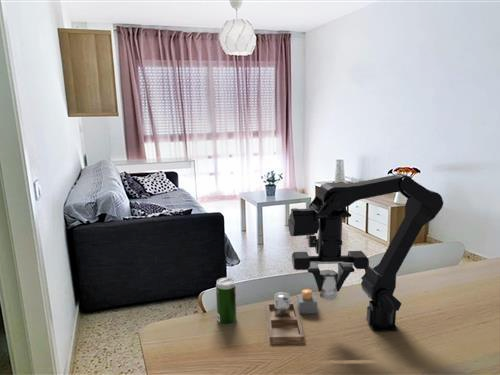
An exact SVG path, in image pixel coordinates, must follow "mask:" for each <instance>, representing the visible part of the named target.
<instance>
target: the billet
mask: <svg viewBox="0 0 500 375" xmlns="http://www.w3.org/2000/svg"><path fill="white" fill-rule="evenodd" d="M320 280H321V291H320V292H319V296H320V298H321V299H324V300H327V301H329V300H330V301H331V300H335V299H337V297H338V292H337V282H338V272H336V271H334V270H322V271H320Z"/></svg>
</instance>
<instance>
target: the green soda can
mask: <svg viewBox="0 0 500 375" xmlns="http://www.w3.org/2000/svg"><path fill="white" fill-rule="evenodd" d="M236 284H237V283H236V282H235V279H233V277H221V278H218V279H217V280H216V284H215V289H216V290H215V291H216V292H215V293H216V297H215V298H216V320H217V323H218V324H220V325H223V326H229V325H232V324H234V323H236V322H237V320H238V319H237V318H238V317H237V293H236V292H237V287H236V286H237V285H236Z"/></svg>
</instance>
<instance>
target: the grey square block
mask: <svg viewBox="0 0 500 375" xmlns="http://www.w3.org/2000/svg"><path fill="white" fill-rule="evenodd" d="M296 297H297V299H296V301H297V302H296V306H297V310H298V314H299V315H300V314H303V315H305V314H318V300H317V296H316V295H315V293H312V300H309V301H307V300H303V299H302V293H297V296H296Z"/></svg>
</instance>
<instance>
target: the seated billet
mask: <svg viewBox="0 0 500 375" xmlns="http://www.w3.org/2000/svg"><path fill="white" fill-rule="evenodd" d="M273 295H274V297H273V298H274V299H273V300H274V301H273V303H274V316H275V317H290V303H291V294H290V293H288V292H285V291H279V292H275V293H274V294H273Z"/></svg>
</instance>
